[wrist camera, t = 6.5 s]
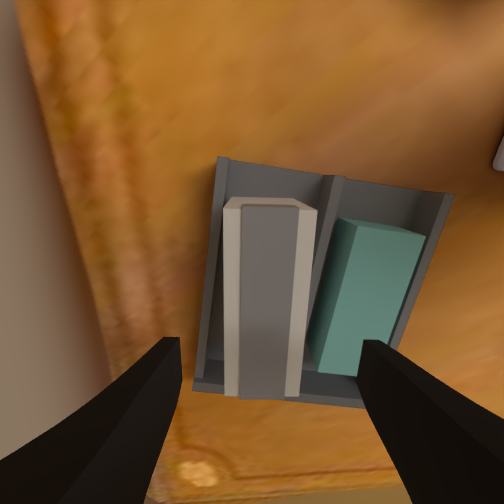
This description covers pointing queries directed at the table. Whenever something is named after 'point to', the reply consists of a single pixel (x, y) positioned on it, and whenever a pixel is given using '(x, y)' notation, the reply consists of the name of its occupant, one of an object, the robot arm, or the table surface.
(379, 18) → the table surface
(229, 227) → the grey striped bar
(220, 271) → the grey divided tray
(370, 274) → the teal rectangular prism
